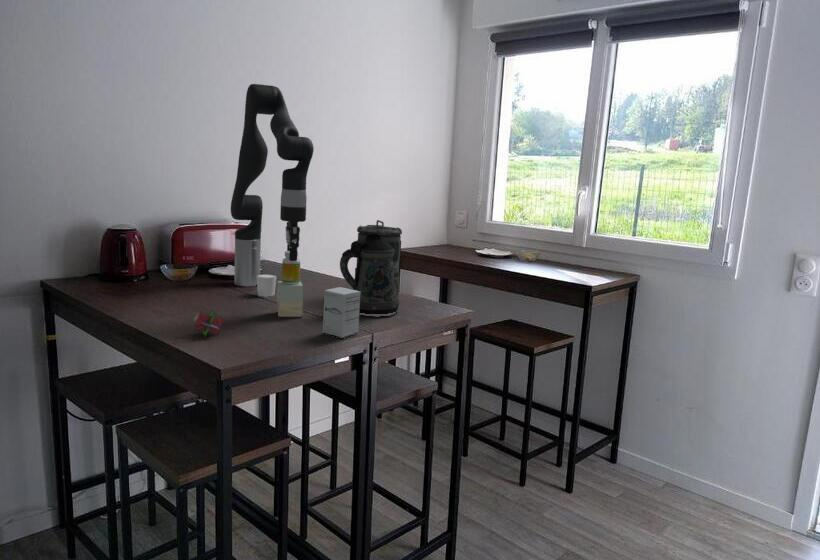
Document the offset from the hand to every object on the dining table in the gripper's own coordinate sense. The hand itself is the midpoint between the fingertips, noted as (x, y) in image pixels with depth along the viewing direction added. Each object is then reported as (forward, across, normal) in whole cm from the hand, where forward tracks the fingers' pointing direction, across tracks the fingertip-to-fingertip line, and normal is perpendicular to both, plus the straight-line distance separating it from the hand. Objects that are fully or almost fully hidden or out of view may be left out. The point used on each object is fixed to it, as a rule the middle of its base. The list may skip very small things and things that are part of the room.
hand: (291, 258), depth 184 cm
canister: (+18, +22, -32) cm, 43 cm away
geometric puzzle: (+18, -21, +23) cm, 36 cm away
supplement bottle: (+8, 0, 0) cm, 8 cm away
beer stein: (+18, +3, -26) cm, 32 cm away
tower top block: (+13, 0, 0) cm, 13 cm away
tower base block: (+18, 0, 0) cm, 18 cm away
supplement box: (+18, -22, -12) cm, 31 cm away
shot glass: (+18, +27, +6) cm, 33 cm away
